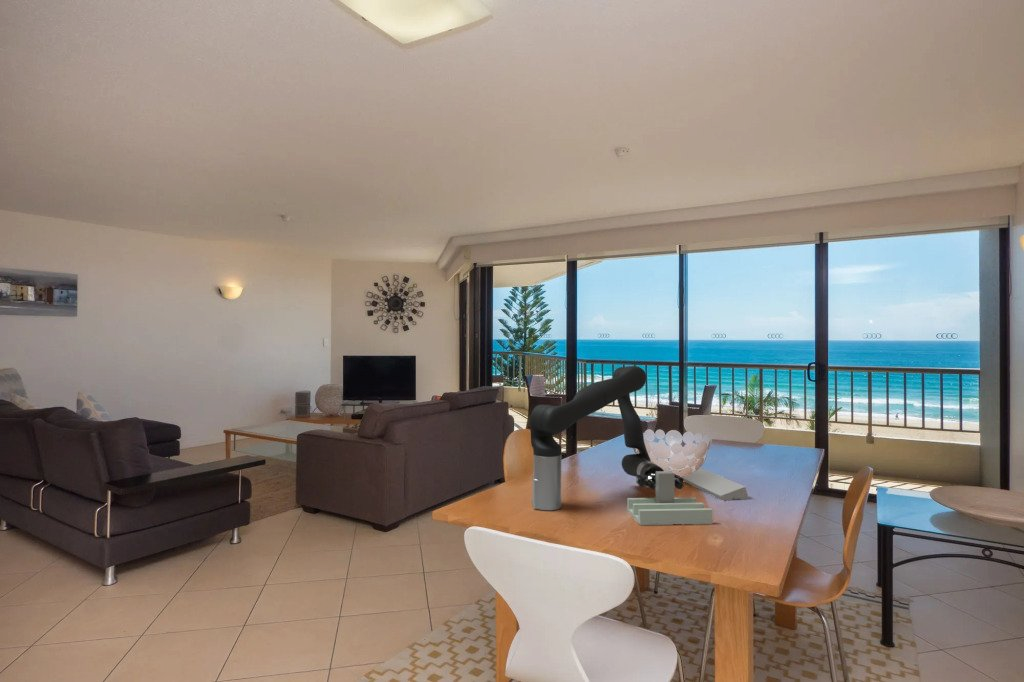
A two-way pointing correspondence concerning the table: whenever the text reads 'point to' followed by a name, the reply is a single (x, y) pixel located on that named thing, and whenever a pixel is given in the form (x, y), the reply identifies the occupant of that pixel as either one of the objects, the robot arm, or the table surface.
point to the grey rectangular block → (664, 487)
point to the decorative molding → (716, 485)
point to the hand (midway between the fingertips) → (667, 486)
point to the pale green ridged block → (669, 511)
